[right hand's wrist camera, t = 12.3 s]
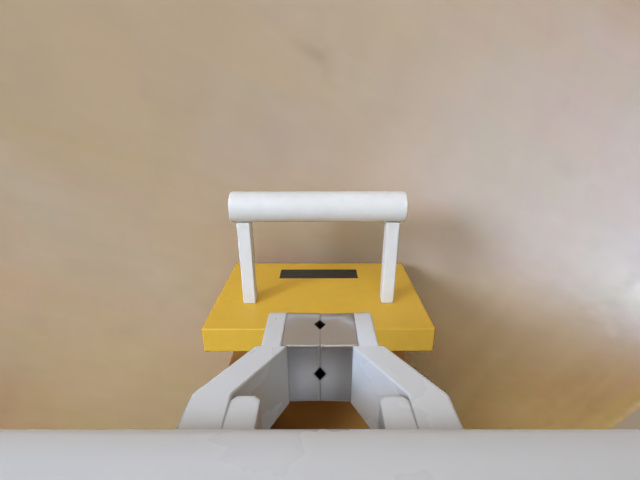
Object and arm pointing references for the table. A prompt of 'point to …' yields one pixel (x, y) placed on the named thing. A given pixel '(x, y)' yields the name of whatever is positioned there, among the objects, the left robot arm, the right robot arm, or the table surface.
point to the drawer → (318, 287)
